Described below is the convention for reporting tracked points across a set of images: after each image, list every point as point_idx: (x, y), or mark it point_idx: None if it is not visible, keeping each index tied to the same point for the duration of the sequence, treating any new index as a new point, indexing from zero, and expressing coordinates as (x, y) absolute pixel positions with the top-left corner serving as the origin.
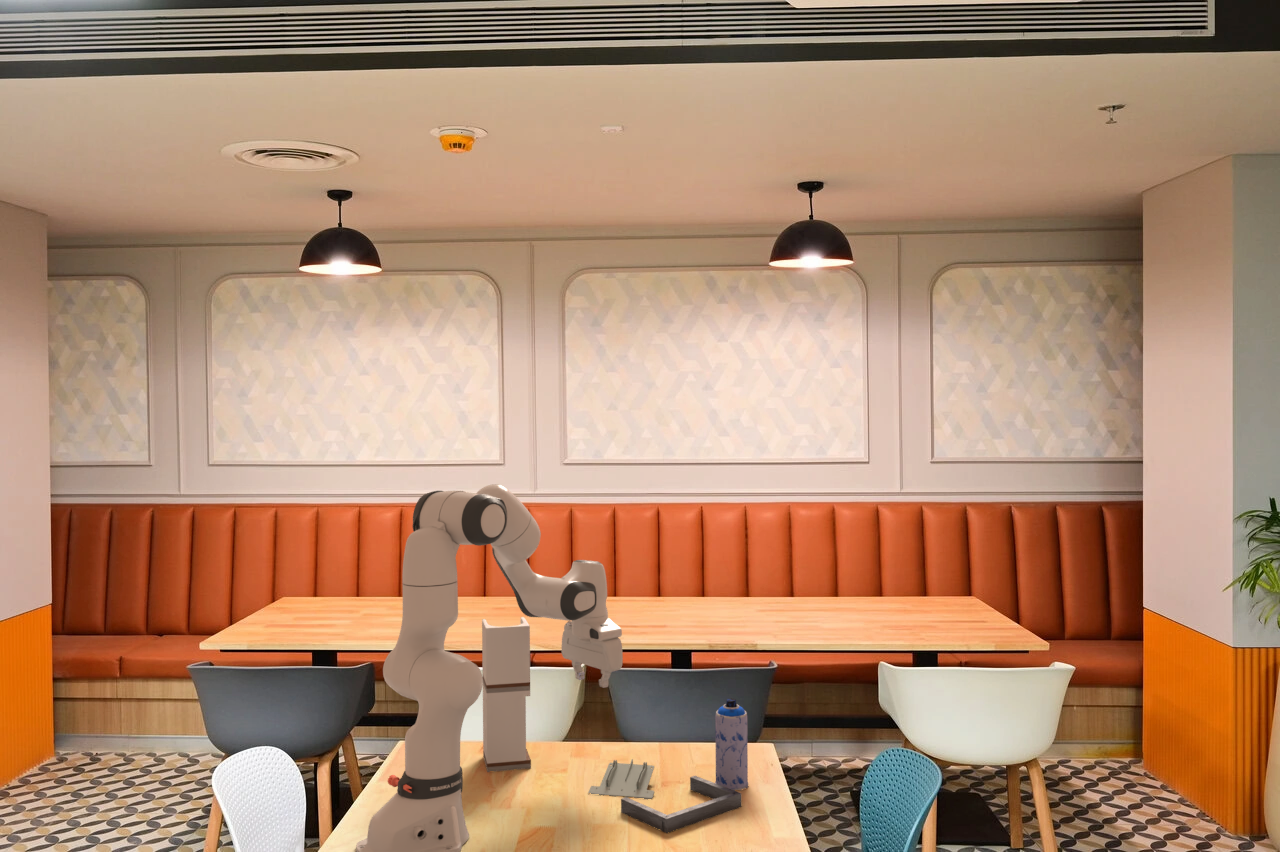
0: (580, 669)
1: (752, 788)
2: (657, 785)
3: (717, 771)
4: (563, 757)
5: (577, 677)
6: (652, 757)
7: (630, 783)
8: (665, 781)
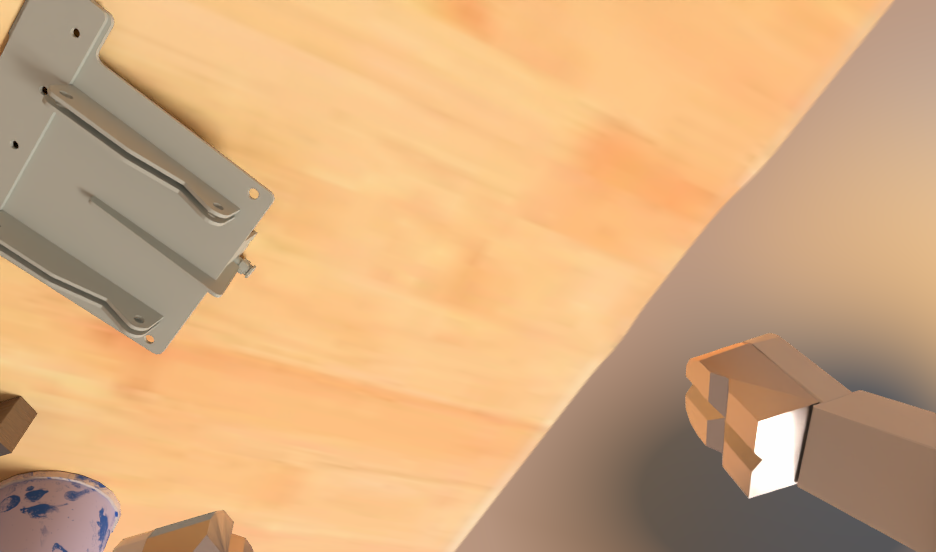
0: (837, 484)
1: None
2: None
3: (6, 525)
4: (616, 82)
5: (743, 358)
6: (431, 378)
7: (62, 207)
8: None
